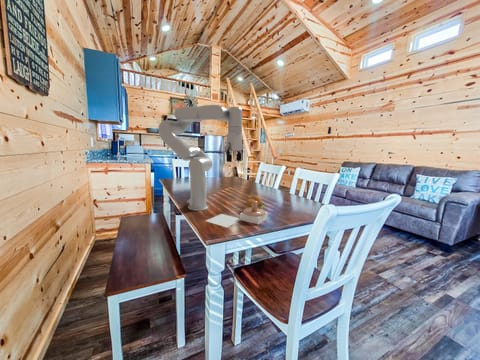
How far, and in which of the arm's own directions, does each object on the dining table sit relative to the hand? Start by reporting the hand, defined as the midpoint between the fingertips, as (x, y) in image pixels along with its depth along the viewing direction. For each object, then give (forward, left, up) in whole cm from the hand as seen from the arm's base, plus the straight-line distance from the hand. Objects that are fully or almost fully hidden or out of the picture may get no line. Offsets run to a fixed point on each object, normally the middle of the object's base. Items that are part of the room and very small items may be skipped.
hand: (234, 161), depth 119 cm
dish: (+16, -3, -30) cm, 34 cm away
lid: (+16, -3, -26) cm, 31 cm away
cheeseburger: (+9, +11, -31) cm, 34 cm away
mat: (+4, -14, -30) cm, 34 cm away
